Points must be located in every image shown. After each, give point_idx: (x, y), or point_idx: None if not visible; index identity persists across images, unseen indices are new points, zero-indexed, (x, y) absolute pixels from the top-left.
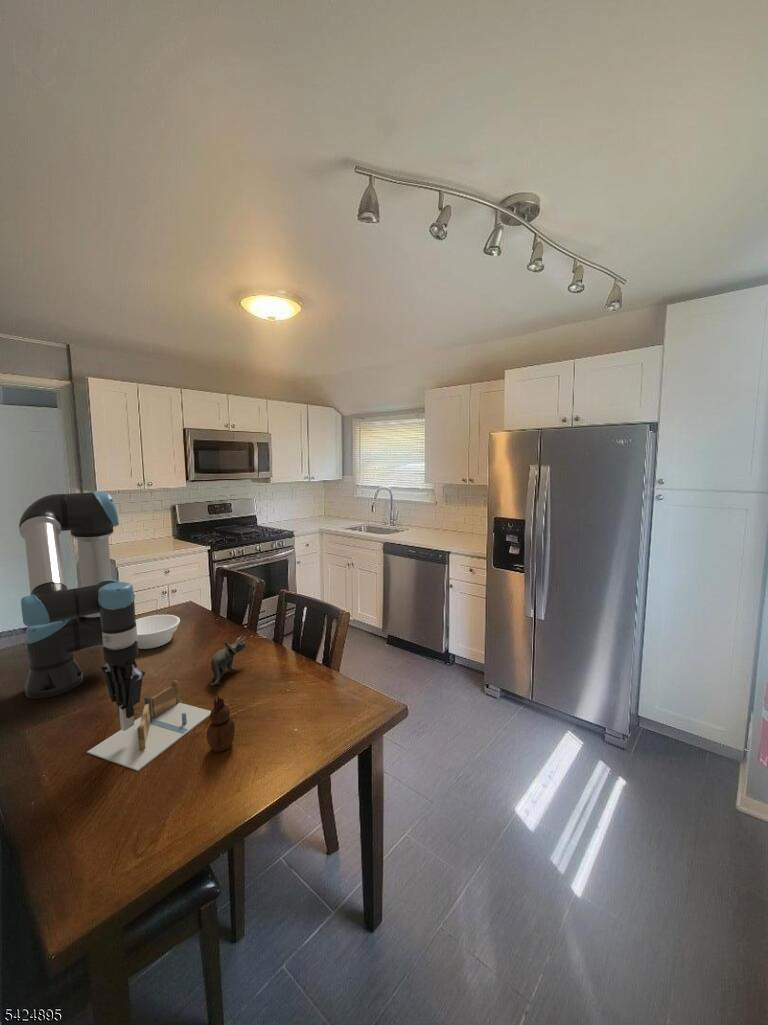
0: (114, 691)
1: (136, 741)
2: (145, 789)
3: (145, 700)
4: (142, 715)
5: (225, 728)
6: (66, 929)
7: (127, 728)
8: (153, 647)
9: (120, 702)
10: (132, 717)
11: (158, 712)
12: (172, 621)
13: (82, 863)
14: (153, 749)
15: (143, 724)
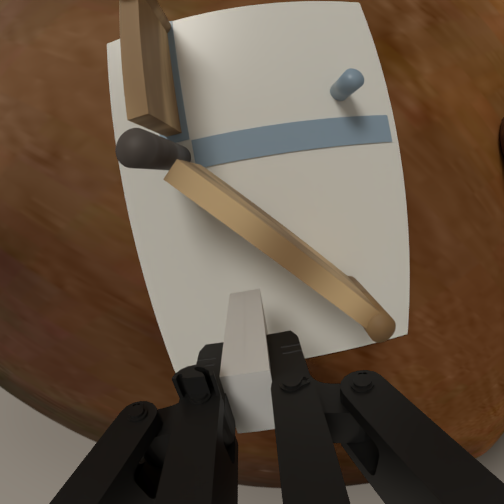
0: (151, 502)
1: (272, 266)
2: (461, 344)
3: (143, 166)
4: (273, 256)
5: None
6: (486, 448)
7: (266, 325)
8: None
9: (234, 444)
10: (263, 315)
11: (174, 111)
12: None
13: (457, 439)
14: (376, 258)
15: (361, 300)
